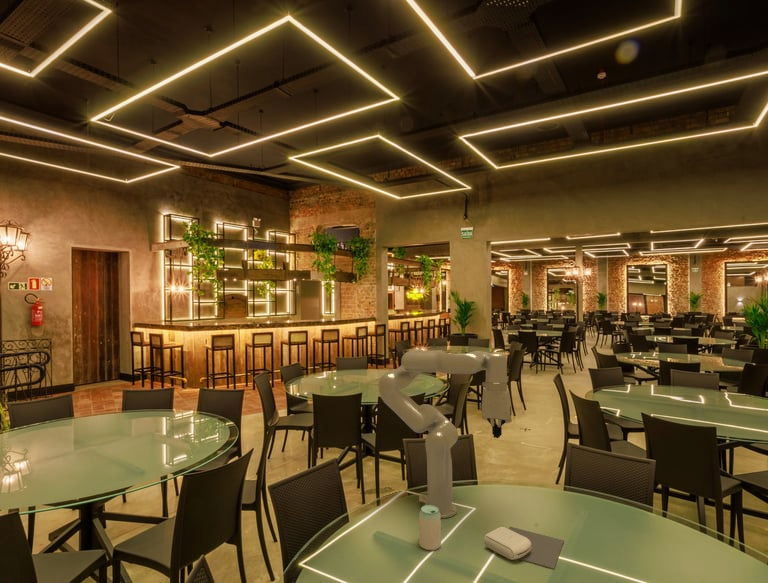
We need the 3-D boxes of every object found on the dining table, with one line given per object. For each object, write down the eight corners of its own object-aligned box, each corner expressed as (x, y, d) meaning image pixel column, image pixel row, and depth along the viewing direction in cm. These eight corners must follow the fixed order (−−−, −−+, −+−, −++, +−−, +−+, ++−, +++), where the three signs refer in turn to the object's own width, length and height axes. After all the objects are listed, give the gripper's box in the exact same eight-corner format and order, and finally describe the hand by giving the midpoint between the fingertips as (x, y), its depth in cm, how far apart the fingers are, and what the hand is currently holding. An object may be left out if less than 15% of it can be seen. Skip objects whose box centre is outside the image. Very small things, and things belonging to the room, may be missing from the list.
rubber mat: (494, 552, 139) (494, 551, 139) (509, 527, 154) (509, 526, 154) (554, 569, 130) (554, 568, 130) (563, 541, 145) (563, 540, 145)
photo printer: (503, 524, 148) (535, 539, 138) (503, 536, 148) (535, 553, 138) (483, 533, 142) (515, 550, 132) (483, 547, 141) (515, 565, 131)
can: (442, 542, 145) (442, 505, 146) (438, 553, 139) (438, 515, 139) (422, 538, 148) (422, 502, 148) (417, 549, 141) (416, 512, 141)
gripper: (473, 386, 160) (473, 436, 159) (514, 390, 152) (514, 443, 151) (480, 383, 166) (480, 431, 166) (519, 386, 158) (520, 437, 158)
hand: (497, 436), depth 158 cm, fingers closed
